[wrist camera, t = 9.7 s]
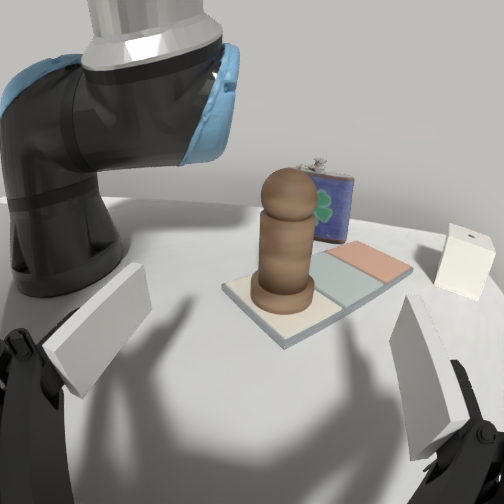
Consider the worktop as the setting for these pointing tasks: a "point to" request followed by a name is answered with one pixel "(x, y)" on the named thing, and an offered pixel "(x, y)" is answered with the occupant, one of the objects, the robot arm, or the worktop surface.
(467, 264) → the white die
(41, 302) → the worktop surface
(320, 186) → the flask
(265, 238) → the pawn
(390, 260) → the board
